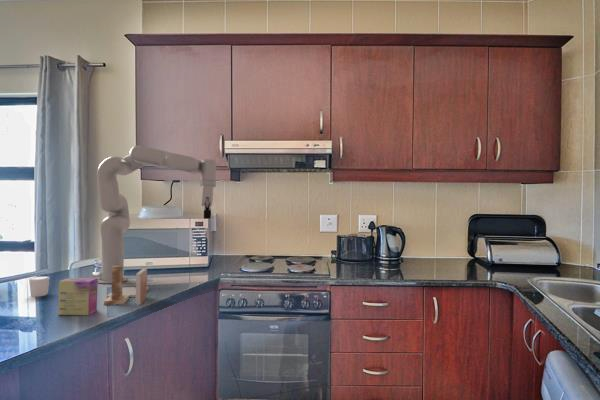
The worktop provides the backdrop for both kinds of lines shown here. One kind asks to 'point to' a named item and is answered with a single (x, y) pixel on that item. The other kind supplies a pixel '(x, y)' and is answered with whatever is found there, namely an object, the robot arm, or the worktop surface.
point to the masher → (116, 287)
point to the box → (77, 296)
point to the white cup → (39, 286)
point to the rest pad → (127, 291)
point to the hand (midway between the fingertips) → (207, 217)
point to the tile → (141, 285)
